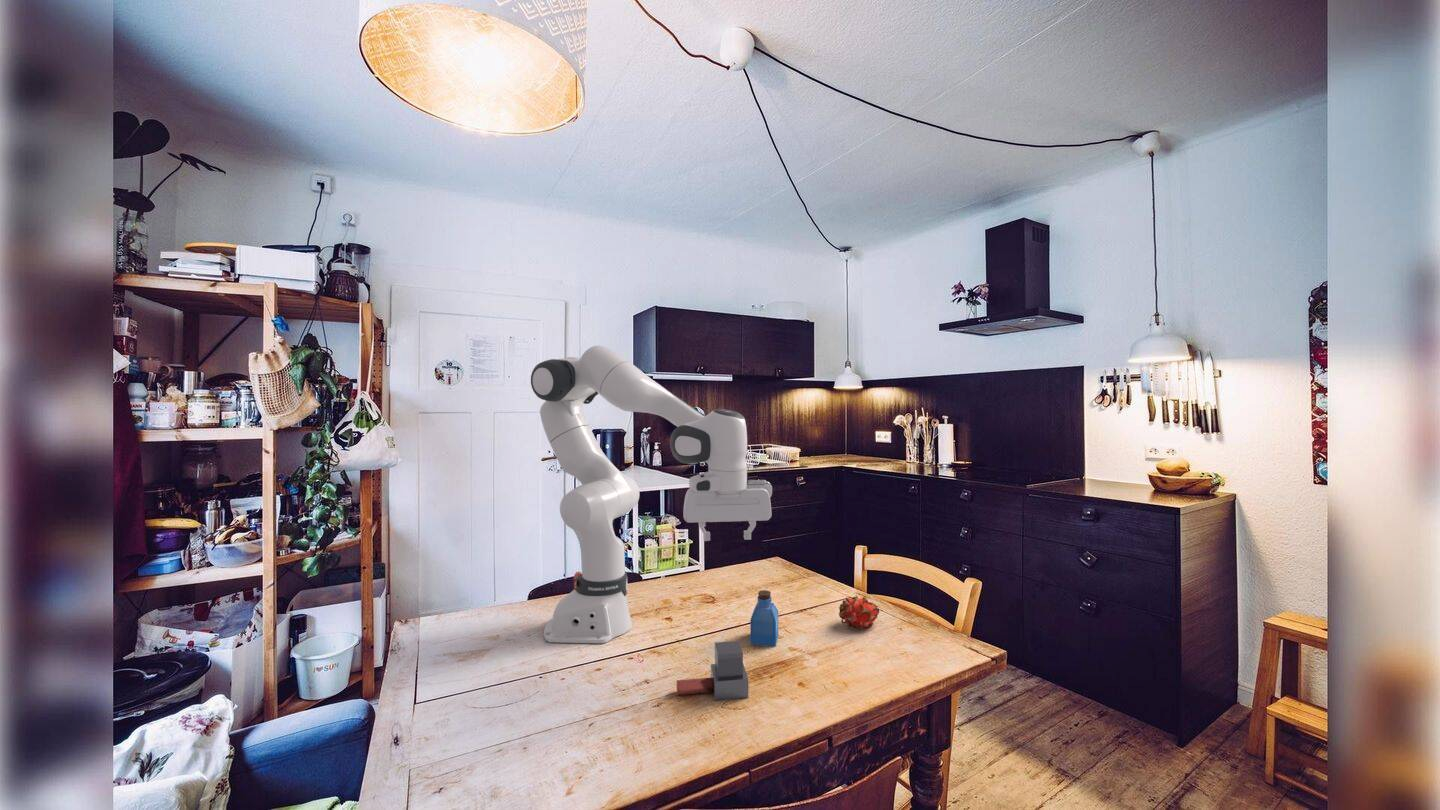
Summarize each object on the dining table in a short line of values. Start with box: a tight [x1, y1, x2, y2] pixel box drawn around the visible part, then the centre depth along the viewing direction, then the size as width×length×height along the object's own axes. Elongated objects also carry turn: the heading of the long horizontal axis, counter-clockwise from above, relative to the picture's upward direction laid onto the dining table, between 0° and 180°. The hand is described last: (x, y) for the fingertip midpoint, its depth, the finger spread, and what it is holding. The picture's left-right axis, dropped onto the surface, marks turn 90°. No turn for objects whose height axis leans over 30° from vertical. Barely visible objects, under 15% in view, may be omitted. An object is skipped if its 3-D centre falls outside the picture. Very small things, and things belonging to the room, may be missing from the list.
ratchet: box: [676, 663, 749, 701], centre depth 123 cm, size 14×7×7 cm, turn 97°
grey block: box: [714, 640, 744, 679], centre depth 123 cm, size 5×5×5 cm
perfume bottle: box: [749, 589, 779, 647], centre depth 145 cm, size 6×6×12 cm
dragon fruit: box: [838, 595, 880, 631], centre depth 153 cm, size 8×8×12 cm
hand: (727, 539), depth 135 cm, fingers open, 8 cm apart
